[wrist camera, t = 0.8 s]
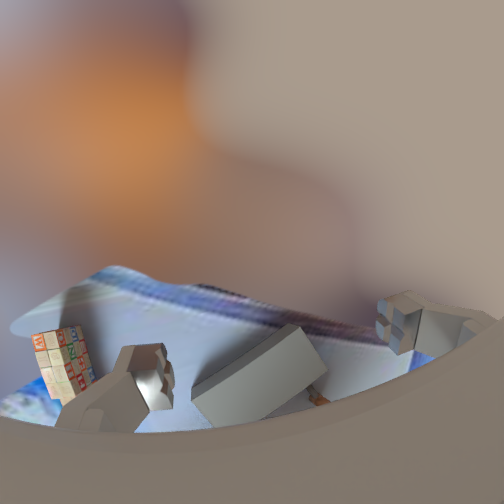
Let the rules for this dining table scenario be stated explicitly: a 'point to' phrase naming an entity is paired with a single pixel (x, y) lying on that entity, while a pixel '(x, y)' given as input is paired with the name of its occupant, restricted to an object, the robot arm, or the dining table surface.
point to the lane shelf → (260, 379)
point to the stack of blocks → (64, 362)
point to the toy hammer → (316, 397)
